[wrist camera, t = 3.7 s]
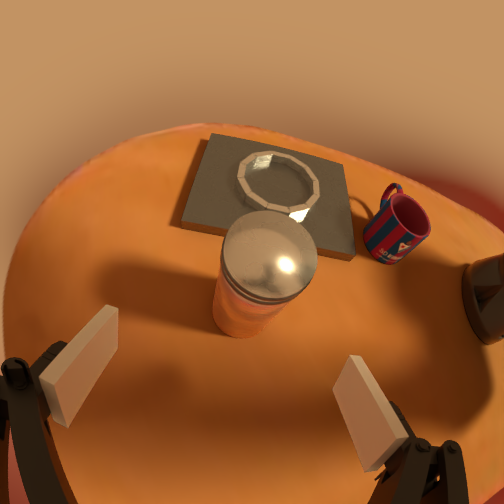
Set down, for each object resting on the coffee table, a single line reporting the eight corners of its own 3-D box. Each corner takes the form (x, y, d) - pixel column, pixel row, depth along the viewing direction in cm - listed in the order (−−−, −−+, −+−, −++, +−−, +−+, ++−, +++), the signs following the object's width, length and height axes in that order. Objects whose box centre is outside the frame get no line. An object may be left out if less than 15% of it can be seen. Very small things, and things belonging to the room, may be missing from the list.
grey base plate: (338, 171, 40) (345, 159, 37) (349, 261, 31) (360, 250, 29) (210, 141, 37) (212, 126, 35) (181, 228, 29) (180, 213, 27)
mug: (363, 257, 32) (393, 227, 26) (360, 200, 37) (383, 168, 32) (402, 270, 33) (434, 245, 27) (396, 214, 38) (420, 187, 32)
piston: (281, 312, 27) (335, 254, 17) (241, 351, 24) (276, 317, 14) (240, 272, 28) (269, 195, 18) (198, 307, 25) (201, 243, 15)
